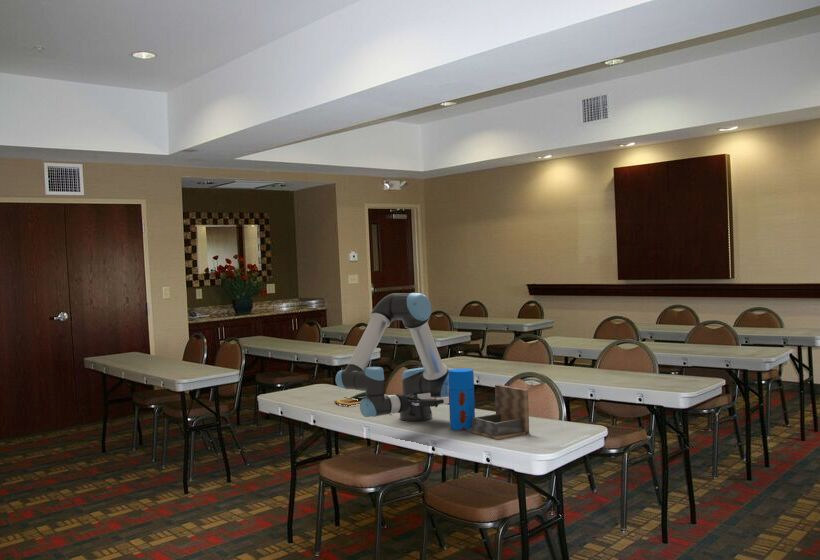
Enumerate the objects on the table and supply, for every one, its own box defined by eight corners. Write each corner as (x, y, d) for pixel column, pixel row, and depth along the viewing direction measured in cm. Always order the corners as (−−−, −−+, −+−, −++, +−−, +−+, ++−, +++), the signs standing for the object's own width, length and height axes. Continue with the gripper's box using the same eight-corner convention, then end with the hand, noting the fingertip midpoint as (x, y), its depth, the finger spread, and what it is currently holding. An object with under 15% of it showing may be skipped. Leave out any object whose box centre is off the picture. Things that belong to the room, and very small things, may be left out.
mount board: (468, 431, 298) (467, 389, 298) (499, 426, 307) (498, 384, 307) (497, 439, 282) (495, 394, 282) (529, 433, 291) (528, 389, 291)
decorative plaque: (377, 383, 394) (397, 387, 378) (378, 397, 394) (397, 401, 378) (329, 390, 377) (347, 394, 360) (329, 403, 377) (348, 409, 360)
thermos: (450, 431, 300) (449, 372, 300) (449, 425, 311) (447, 368, 311) (476, 430, 300) (474, 371, 300) (473, 424, 311) (472, 368, 311)
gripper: (381, 408, 298) (423, 402, 309) (412, 417, 277) (456, 411, 288) (380, 390, 298) (422, 385, 309) (412, 398, 277) (456, 392, 288)
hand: (439, 398), depth 299 cm, fingers open, 13 cm apart
